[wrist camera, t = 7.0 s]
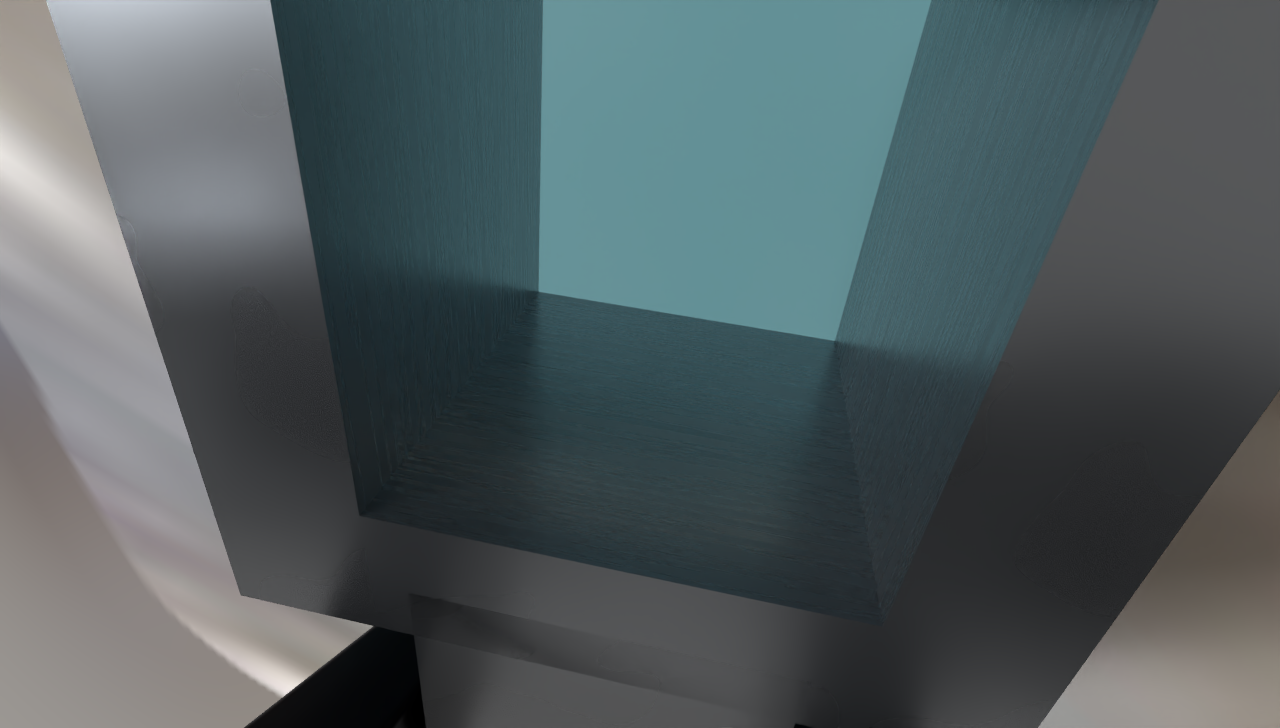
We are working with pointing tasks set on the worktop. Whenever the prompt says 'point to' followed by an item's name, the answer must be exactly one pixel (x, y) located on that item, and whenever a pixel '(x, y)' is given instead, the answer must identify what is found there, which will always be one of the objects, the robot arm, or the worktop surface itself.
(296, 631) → the worktop surface
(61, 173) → the worktop surface
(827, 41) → the bin
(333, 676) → the robot arm
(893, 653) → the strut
